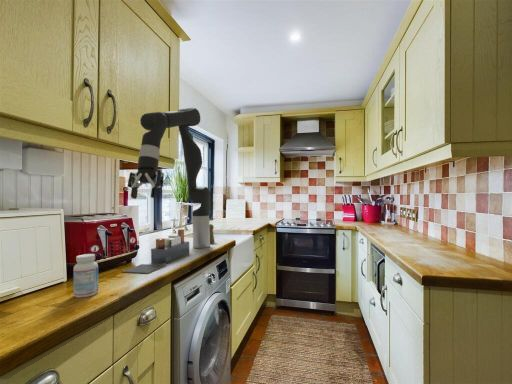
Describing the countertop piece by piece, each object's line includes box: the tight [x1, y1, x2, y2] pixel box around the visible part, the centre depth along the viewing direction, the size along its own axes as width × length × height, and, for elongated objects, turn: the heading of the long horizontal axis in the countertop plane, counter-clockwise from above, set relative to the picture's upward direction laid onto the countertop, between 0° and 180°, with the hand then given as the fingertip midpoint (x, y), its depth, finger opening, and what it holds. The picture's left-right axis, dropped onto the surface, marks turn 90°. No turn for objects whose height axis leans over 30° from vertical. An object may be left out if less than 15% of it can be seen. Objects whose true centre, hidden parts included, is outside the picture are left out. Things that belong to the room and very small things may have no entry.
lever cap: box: [163, 234, 181, 247], centre depth 123 cm, size 8×5×4 cm, turn 166°
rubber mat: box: [121, 263, 166, 275], centre depth 105 cm, size 11×11×1 cm
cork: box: [209, 223, 215, 244], centre depth 164 cm, size 6×6×11 cm
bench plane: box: [150, 228, 190, 265], centre depth 123 cm, size 20×7×12 cm, turn 166°
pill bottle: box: [72, 253, 100, 299], centre depth 78 cm, size 6×6×11 cm
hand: (143, 198), depth 104 cm, fingers open, 8 cm apart
